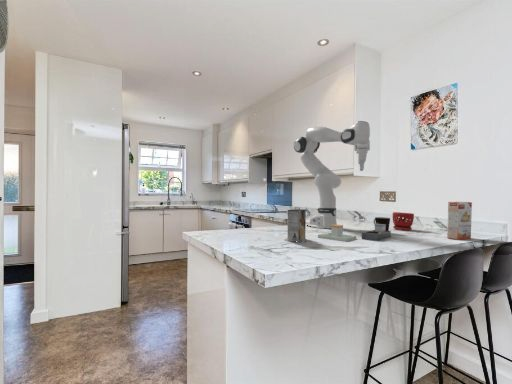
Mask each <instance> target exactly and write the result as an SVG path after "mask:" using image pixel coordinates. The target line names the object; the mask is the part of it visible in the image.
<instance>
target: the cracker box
mask: <svg viewBox="0 0 512 384" xmlns="http://www.w3.org/2000/svg"><path fill="white" fill-rule="evenodd" d="M447 205H448V206H447V232H446V233H447V237H446V238H447V239H449V240H456V241H457V240H467V239H469V240H470V239H471V238H472V214H473V213H472V212H473V209H472V207H473V203H472V202H471V201H448V203H447Z"/></svg>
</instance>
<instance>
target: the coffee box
mask: <svg viewBox="0 0 512 384" xmlns="http://www.w3.org/2000/svg"><path fill="white" fill-rule="evenodd" d="M306 212H307V211H306V209H303V208H302V209H301V208H297V209H296V208H293V209H287V241H288V242H291V241H297V242H296V243H301V242H303V241H304V240H306V229H307V228H306V227H307V224H306V222H307V221H306V216H307V215H306V214H307V213H306ZM300 241H301V242H300Z"/></svg>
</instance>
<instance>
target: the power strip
mask: <svg viewBox="0 0 512 384" xmlns="http://www.w3.org/2000/svg"><path fill="white" fill-rule="evenodd" d="M391 237H392V231H391V230H389V231H388V230H386V231H385V232H379V231H375V229H371V230H366V231H362V232H361V240H367V241H375V242H378V241H379V242H380V241H382V240H384V239H388V238H391Z"/></svg>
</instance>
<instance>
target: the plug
mask: <svg viewBox="0 0 512 384" xmlns="http://www.w3.org/2000/svg"><path fill="white" fill-rule="evenodd" d="M330 233H331V236H334V237H341V238H343V234H344V224H338V223H337V224H336V225H331V228H330Z"/></svg>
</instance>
